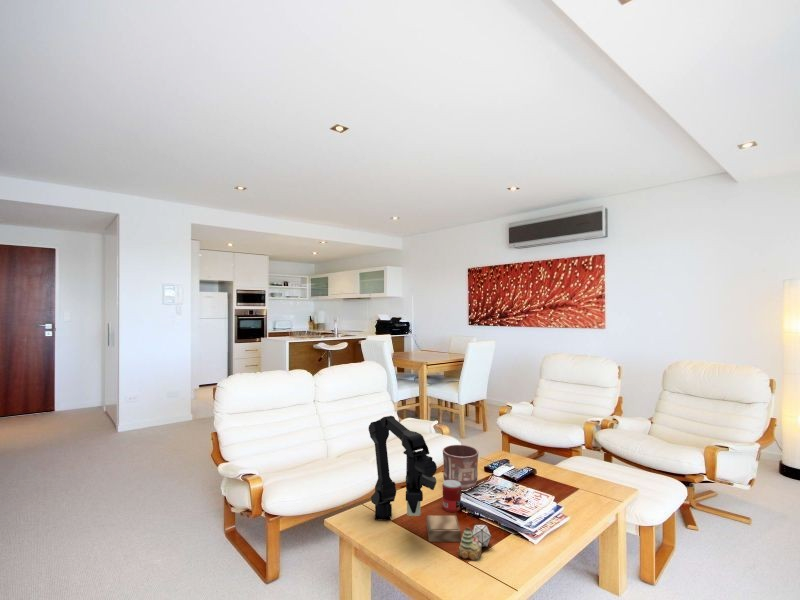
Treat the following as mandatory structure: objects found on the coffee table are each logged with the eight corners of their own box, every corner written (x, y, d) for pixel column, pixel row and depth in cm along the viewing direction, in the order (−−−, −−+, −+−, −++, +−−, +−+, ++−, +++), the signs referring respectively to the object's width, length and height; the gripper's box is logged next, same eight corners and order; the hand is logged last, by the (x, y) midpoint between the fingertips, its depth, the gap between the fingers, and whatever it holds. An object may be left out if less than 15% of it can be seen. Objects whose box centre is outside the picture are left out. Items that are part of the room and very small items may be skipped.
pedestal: (428, 541, 163) (428, 530, 163) (426, 525, 175) (426, 514, 175) (460, 541, 163) (460, 530, 163) (456, 525, 175) (456, 514, 175)
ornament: (481, 552, 156) (481, 524, 156) (481, 562, 150) (481, 533, 150) (459, 549, 158) (459, 522, 158) (458, 559, 152) (458, 530, 152)
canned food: (460, 513, 185) (460, 487, 186) (441, 511, 187) (441, 485, 187) (461, 505, 193) (461, 480, 193) (443, 503, 195) (443, 478, 195)
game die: (483, 559, 158) (486, 546, 152) (463, 544, 162) (465, 531, 156) (495, 539, 164) (498, 526, 158) (475, 525, 168) (478, 512, 162)
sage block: (407, 515, 162) (407, 502, 162) (407, 509, 167) (407, 496, 167) (420, 515, 162) (420, 502, 162) (419, 509, 167) (420, 496, 167)
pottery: (434, 486, 213) (434, 449, 213) (457, 476, 225) (458, 442, 225) (462, 498, 200) (463, 459, 200) (485, 488, 212) (486, 451, 212)
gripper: (436, 478, 155) (436, 522, 155) (433, 459, 174) (433, 499, 173) (405, 477, 155) (405, 521, 155) (405, 459, 174) (405, 498, 174)
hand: (413, 509), depth 164 cm, fingers closed on sage block, 5 cm apart
